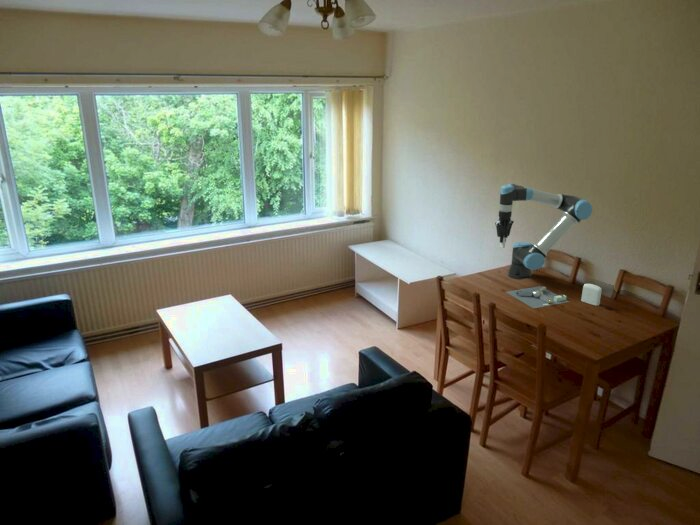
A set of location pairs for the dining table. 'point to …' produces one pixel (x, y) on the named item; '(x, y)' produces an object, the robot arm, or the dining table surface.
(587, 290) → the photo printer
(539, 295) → the grey metal branched piece
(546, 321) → the dining table surface
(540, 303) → the level board
